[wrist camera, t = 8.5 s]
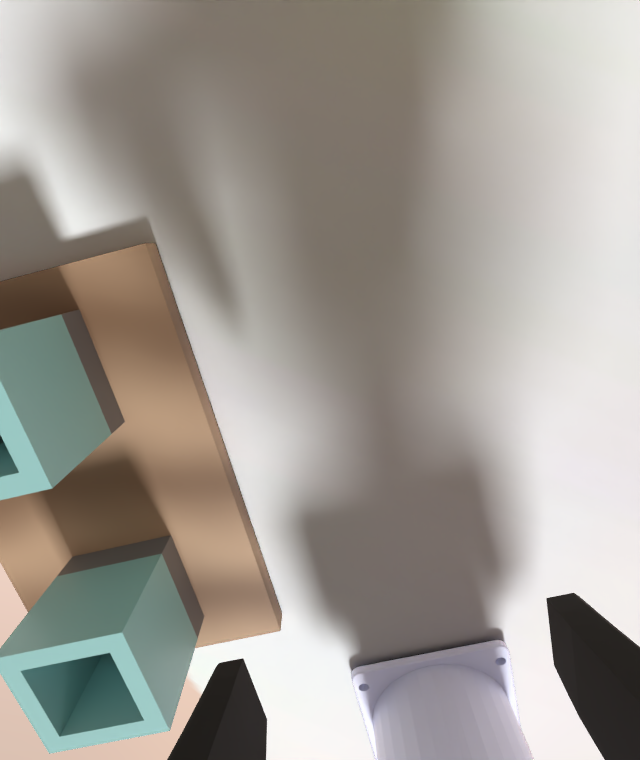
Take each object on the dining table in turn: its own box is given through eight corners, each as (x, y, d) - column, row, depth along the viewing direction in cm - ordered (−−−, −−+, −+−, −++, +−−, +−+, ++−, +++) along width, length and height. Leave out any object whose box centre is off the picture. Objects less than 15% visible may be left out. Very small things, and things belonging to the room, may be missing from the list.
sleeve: (125, 421, 17) (52, 488, 13) (18, 447, 18) (-93, 521, 13) (79, 309, 16) (-22, 336, 11) (-36, 338, 16) (-181, 376, 12)
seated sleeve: (204, 616, 20) (169, 730, 15) (111, 635, 21) (49, 753, 16) (171, 534, 19) (122, 632, 14) (72, 556, 19) (-9, 659, 14)
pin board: (282, 613, 21) (275, 681, 18) (73, 656, 22) (30, 729, 19) (155, 243, 16) (113, 242, 13) (-111, 313, 17) (-215, 330, 14)
